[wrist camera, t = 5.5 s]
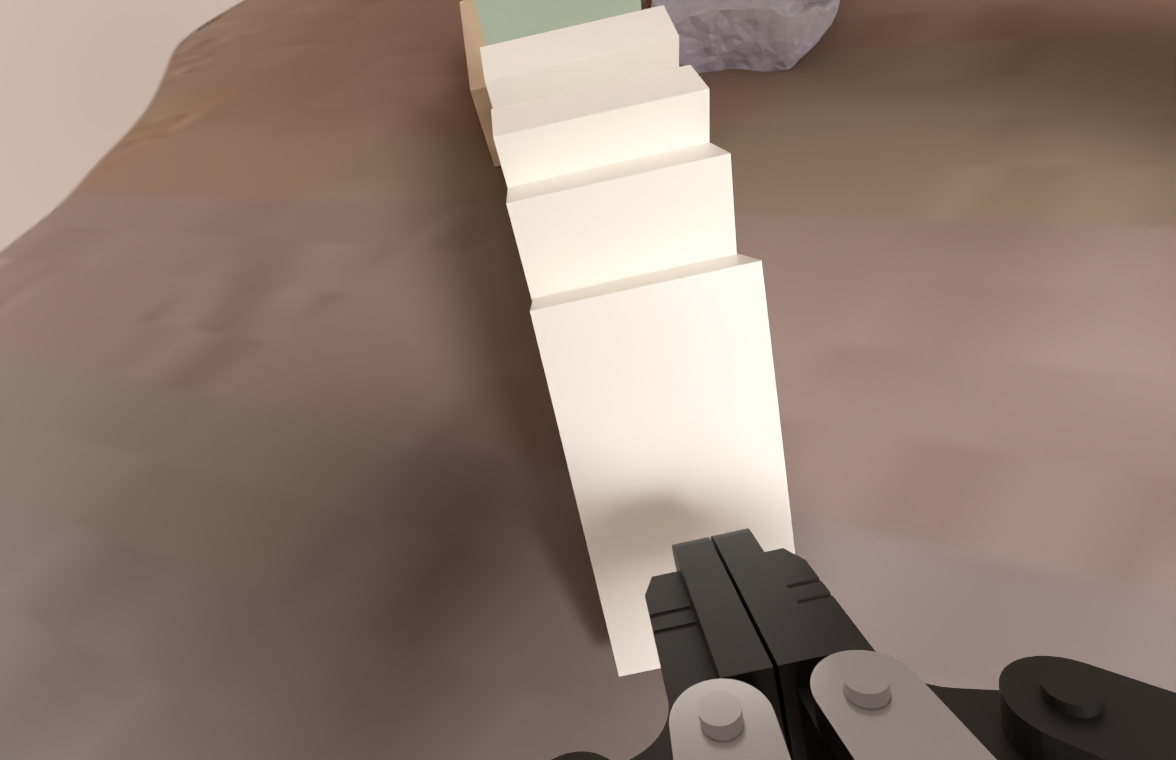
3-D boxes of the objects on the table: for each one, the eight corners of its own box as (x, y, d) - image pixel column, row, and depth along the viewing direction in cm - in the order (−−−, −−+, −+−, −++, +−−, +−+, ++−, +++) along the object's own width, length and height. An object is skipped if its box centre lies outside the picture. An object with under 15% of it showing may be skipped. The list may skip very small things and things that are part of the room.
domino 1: (534, 216, 26) (468, -30, 18) (642, 191, 26) (627, -67, 18) (539, 240, 25) (472, -5, 17) (650, 216, 25) (639, -44, 17)
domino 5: (613, 633, 17) (533, 298, 14) (782, 597, 17) (738, 253, 14) (619, 676, 15) (529, 311, 12) (804, 638, 15) (761, 260, 12)
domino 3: (566, 380, 21) (491, 109, 14) (697, 352, 21) (690, 64, 14) (571, 412, 20) (493, 136, 13) (709, 382, 20) (709, 88, 13)
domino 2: (548, 290, 24) (479, 47, 15) (666, 263, 24) (663, 4, 15) (554, 319, 23) (484, 80, 14) (676, 292, 23) (679, 36, 14)
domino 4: (586, 492, 19) (507, 187, 14) (734, 460, 19) (709, 142, 14) (591, 526, 18) (506, 203, 13) (751, 492, 18) (730, 152, 12)
